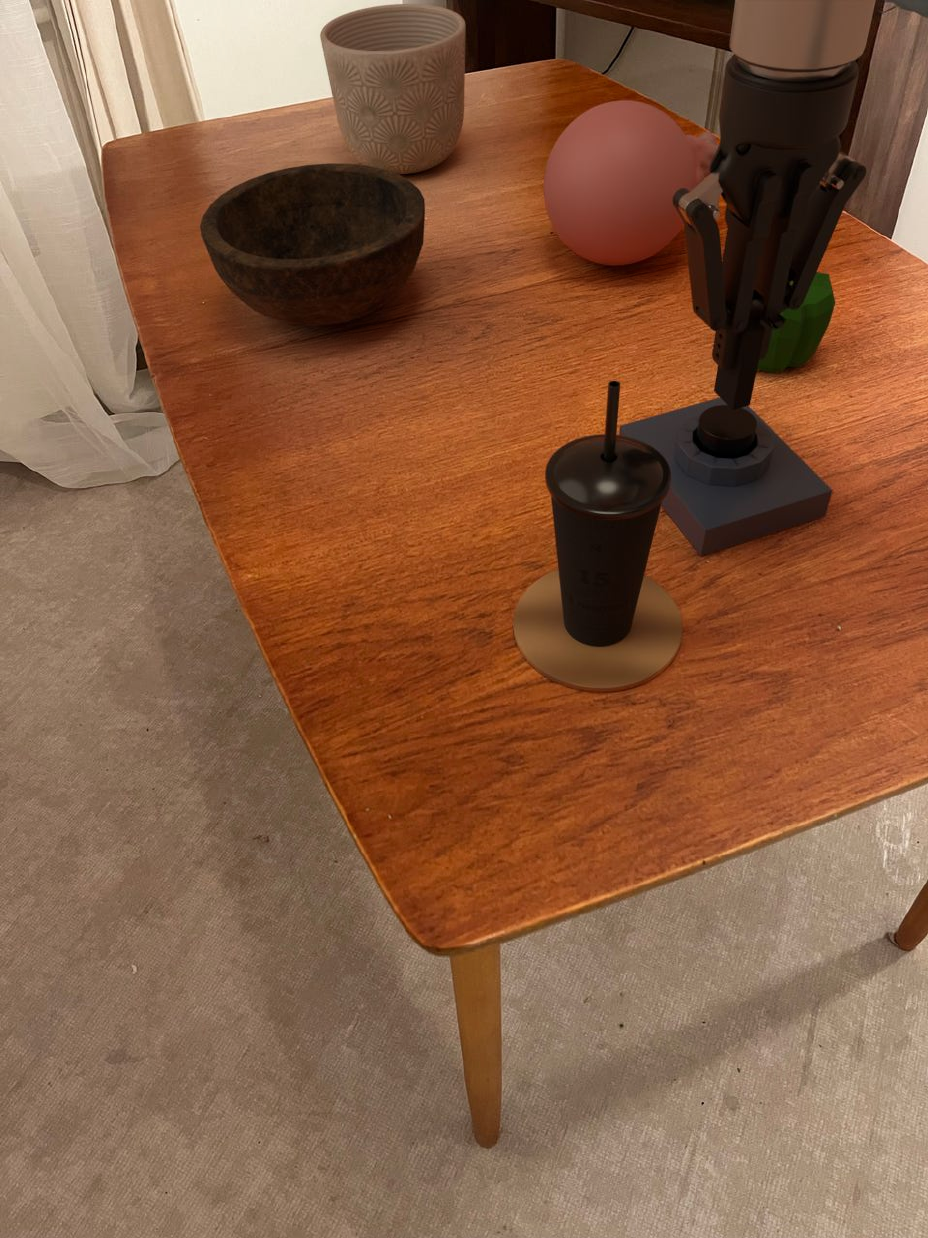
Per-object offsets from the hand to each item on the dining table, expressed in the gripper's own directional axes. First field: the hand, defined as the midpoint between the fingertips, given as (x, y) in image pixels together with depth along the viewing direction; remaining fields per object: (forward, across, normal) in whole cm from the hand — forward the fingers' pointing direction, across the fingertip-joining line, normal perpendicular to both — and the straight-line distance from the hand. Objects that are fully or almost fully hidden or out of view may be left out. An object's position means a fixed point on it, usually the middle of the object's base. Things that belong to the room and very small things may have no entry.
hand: (731, 397), depth 74 cm
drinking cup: (+8, +16, +10) cm, 21 cm away
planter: (+9, +3, -71) cm, 72 cm away
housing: (+8, 0, 0) cm, 8 cm away
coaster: (+8, +16, +10) cm, 21 cm away
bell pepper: (+9, -14, -13) cm, 21 cm away
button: (+4, 0, 0) cm, 4 cm away
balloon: (+9, -12, -36) cm, 39 cm away
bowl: (+9, +22, -41) cm, 47 cm away
